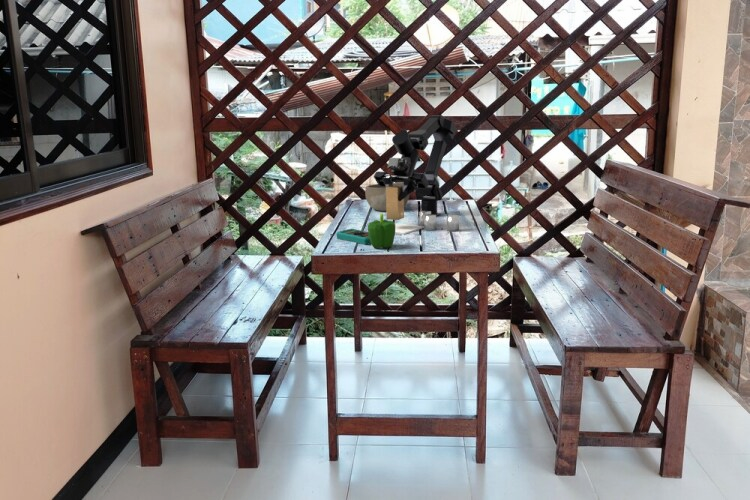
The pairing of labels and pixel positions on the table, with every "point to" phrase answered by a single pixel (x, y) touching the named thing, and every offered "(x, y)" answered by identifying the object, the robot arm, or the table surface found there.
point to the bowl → (379, 196)
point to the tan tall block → (394, 203)
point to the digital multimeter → (354, 236)
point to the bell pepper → (381, 233)
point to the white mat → (406, 228)
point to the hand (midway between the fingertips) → (393, 200)
